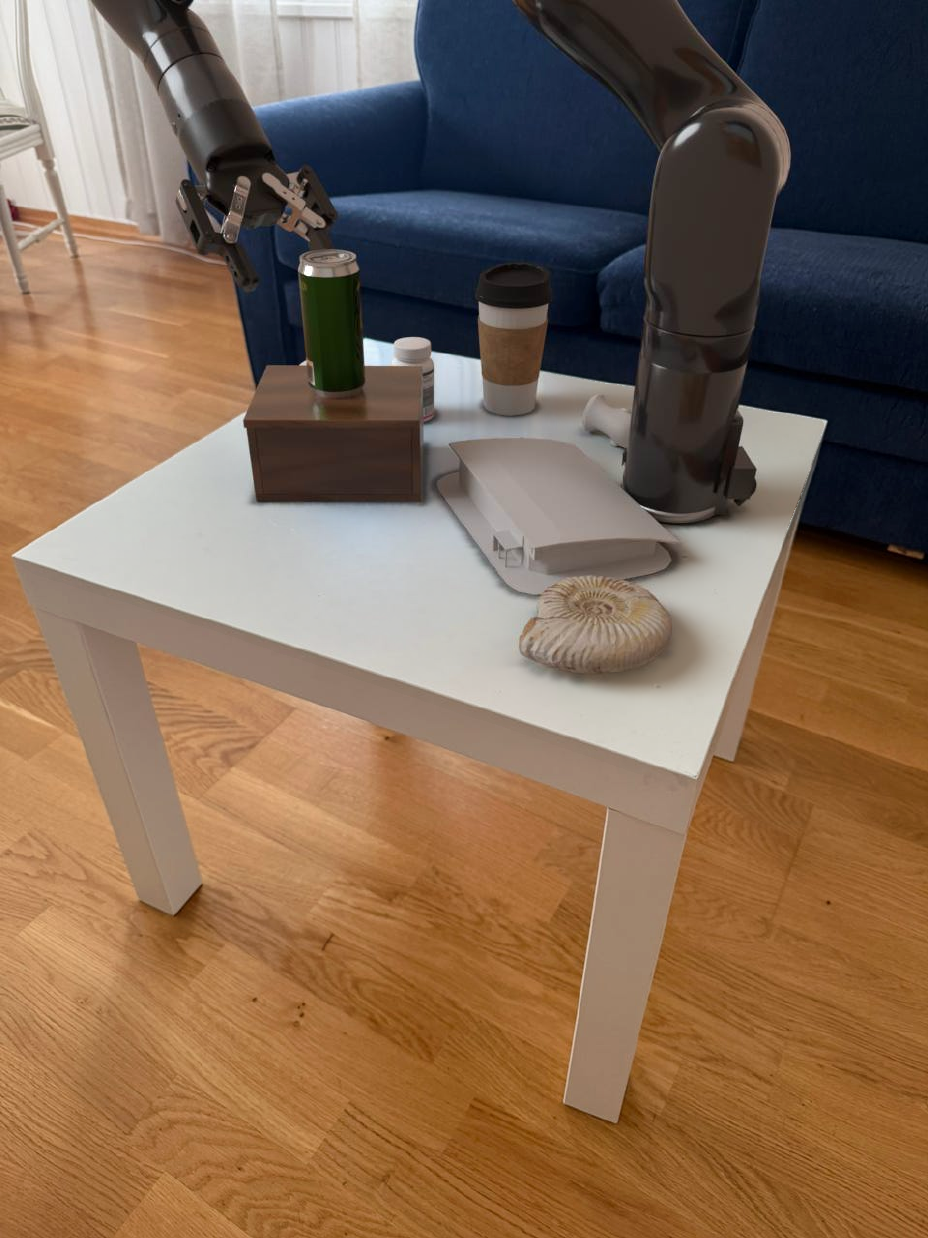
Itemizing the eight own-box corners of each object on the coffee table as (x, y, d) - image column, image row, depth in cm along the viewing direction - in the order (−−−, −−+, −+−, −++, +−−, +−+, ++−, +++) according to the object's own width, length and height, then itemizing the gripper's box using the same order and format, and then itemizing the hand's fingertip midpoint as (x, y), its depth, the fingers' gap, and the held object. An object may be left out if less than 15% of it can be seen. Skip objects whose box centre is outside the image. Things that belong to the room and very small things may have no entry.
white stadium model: (518, 601, 73) (520, 559, 70) (428, 476, 90) (428, 440, 88) (684, 567, 77) (692, 527, 75) (568, 454, 95) (571, 419, 92)
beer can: (324, 404, 83) (313, 268, 76) (299, 385, 87) (286, 253, 79) (376, 392, 85) (370, 259, 78) (349, 374, 89) (341, 245, 82)
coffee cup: (558, 401, 106) (568, 268, 97) (523, 426, 100) (530, 287, 92) (496, 386, 110) (500, 257, 101) (459, 409, 104) (460, 274, 95)
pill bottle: (388, 409, 104) (385, 337, 99) (428, 405, 105) (427, 333, 100) (398, 426, 100) (395, 351, 95) (439, 421, 101) (439, 347, 96)
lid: (419, 428, 81) (419, 420, 80) (243, 428, 80) (242, 419, 80) (422, 373, 92) (422, 365, 91) (267, 372, 91) (266, 364, 91)
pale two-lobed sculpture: (650, 458, 97) (616, 455, 94) (604, 430, 102) (570, 426, 99) (666, 420, 95) (632, 415, 92) (617, 393, 100) (584, 388, 97)
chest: (421, 502, 86) (420, 425, 81) (256, 501, 86) (245, 424, 81) (423, 445, 96) (422, 373, 92) (276, 444, 96) (267, 373, 91)
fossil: (657, 680, 61) (525, 611, 62) (627, 727, 64) (502, 661, 65) (692, 586, 70) (576, 528, 71) (664, 631, 73) (553, 575, 74)
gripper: (151, 100, 78) (236, 268, 77) (293, 90, 85) (371, 243, 85) (136, 160, 84) (215, 315, 84) (269, 145, 92) (342, 288, 91)
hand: (293, 278), depth 84 cm, fingers open, 8 cm apart
